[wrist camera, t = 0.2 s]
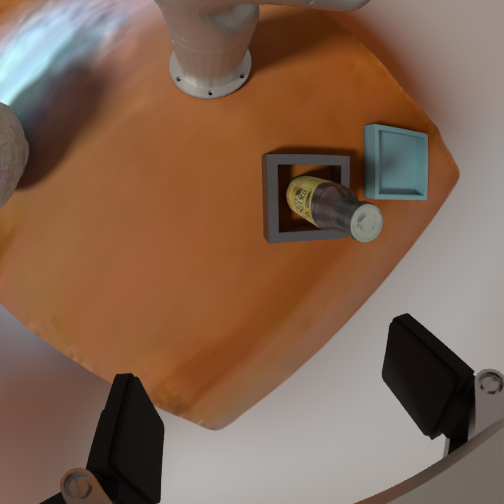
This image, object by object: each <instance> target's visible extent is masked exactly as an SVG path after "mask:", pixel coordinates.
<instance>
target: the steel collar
mask: <svg viewBox="0 0 504 504" xmlns="http://www.w3.org/2000/svg"><path fill="white" fill-rule="evenodd" d="M280 164H304V165H331V181H332V182H336V183H338V184H340V185H344V186H346V187H348V188H349V189H350V156H336V155H310V154H265V155H262V185H263V224H264V238H265V239H266V240H267V242H268V243H281V242H295V241H310V240H324V239H339V238H348V233H347V232H346V233H341V232H333V231H325V230H322V229H320V228H318V227H317V226H315V225H298V226H281V227H279V215H278V165H280Z"/></svg>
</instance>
